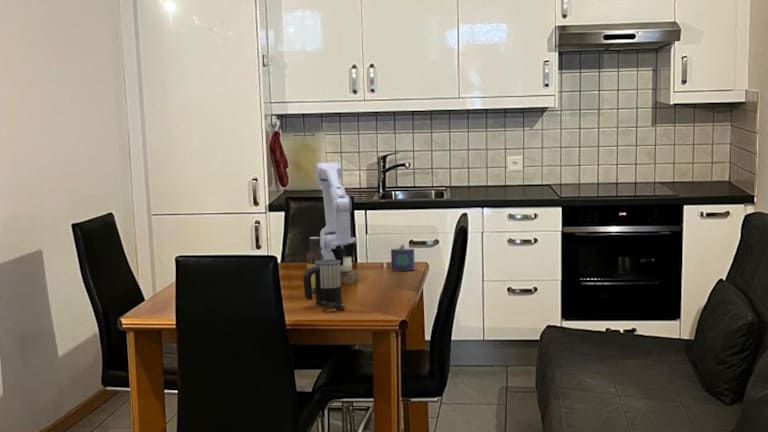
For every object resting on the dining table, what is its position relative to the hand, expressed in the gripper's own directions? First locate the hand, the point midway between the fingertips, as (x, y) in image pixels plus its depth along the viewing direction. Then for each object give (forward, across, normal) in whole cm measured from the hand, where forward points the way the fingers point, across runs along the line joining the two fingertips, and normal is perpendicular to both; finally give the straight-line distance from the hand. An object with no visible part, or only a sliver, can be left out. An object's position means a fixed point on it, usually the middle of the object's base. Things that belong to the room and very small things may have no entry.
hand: (344, 264), depth 349 cm
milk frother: (+7, -33, -20) cm, 39 cm away
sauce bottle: (+7, -18, -1) cm, 19 cm away
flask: (+7, +26, -9) cm, 28 cm away
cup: (+2, 0, 0) cm, 2 cm away
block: (+7, 0, 0) cm, 7 cm away
